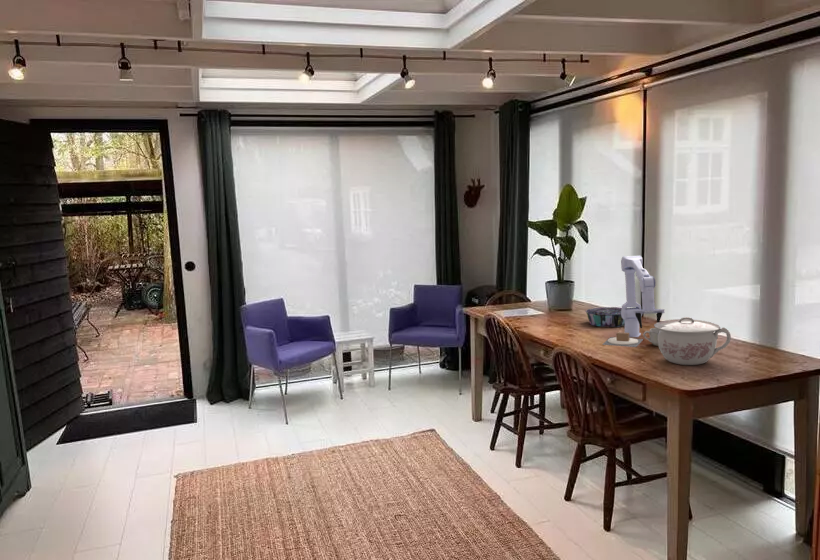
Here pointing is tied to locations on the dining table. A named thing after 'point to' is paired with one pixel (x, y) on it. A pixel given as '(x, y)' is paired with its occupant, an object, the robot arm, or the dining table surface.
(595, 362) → the dining table surface
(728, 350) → the dining table surface
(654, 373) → the dining table surface
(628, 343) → the lid
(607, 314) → the decorative bowl
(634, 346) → the mat
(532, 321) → the dining table surface
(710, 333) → the chamber pot
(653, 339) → the teacup
